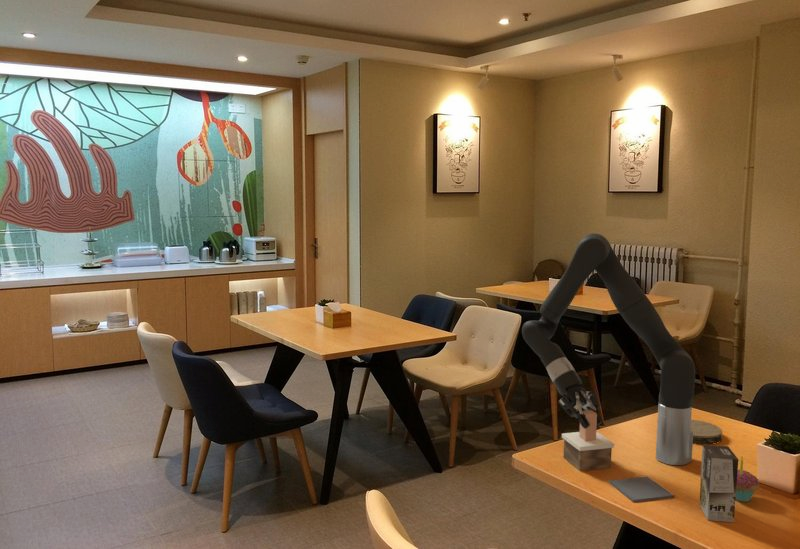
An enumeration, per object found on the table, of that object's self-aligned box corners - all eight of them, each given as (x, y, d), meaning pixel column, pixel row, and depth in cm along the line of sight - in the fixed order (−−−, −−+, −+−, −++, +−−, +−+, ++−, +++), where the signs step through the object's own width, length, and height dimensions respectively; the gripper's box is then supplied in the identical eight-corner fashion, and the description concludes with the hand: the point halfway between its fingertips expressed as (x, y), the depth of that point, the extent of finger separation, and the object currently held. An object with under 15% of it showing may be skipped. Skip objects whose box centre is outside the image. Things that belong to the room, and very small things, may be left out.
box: (593, 454, 207) (594, 435, 206) (610, 467, 197) (611, 447, 196) (563, 457, 204) (564, 438, 204) (579, 470, 195) (580, 450, 194)
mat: (647, 478, 190) (647, 476, 190) (673, 497, 178) (674, 495, 178) (608, 482, 187) (608, 480, 187) (633, 502, 175) (633, 499, 175)
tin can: (687, 424, 234) (688, 416, 234) (731, 438, 221) (732, 430, 220) (659, 433, 225) (659, 425, 225) (703, 449, 212) (703, 439, 212)
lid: (594, 438, 207) (595, 405, 205) (614, 451, 196) (615, 417, 195) (561, 441, 204) (562, 407, 203) (579, 455, 193) (580, 420, 192)
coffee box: (735, 523, 165) (739, 459, 163) (706, 520, 166) (710, 457, 164) (725, 505, 173) (729, 445, 171) (698, 503, 175) (702, 443, 173)
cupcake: (756, 507, 172) (759, 463, 171) (720, 499, 177) (722, 455, 175) (759, 495, 180) (762, 451, 178) (724, 487, 184) (727, 445, 183)
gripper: (553, 372, 200) (584, 424, 191) (586, 365, 207) (617, 414, 199) (540, 385, 205) (569, 436, 196) (573, 378, 212) (602, 426, 204)
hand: (593, 425), depth 198 cm, fingers closed on lid, 4 cm apart
